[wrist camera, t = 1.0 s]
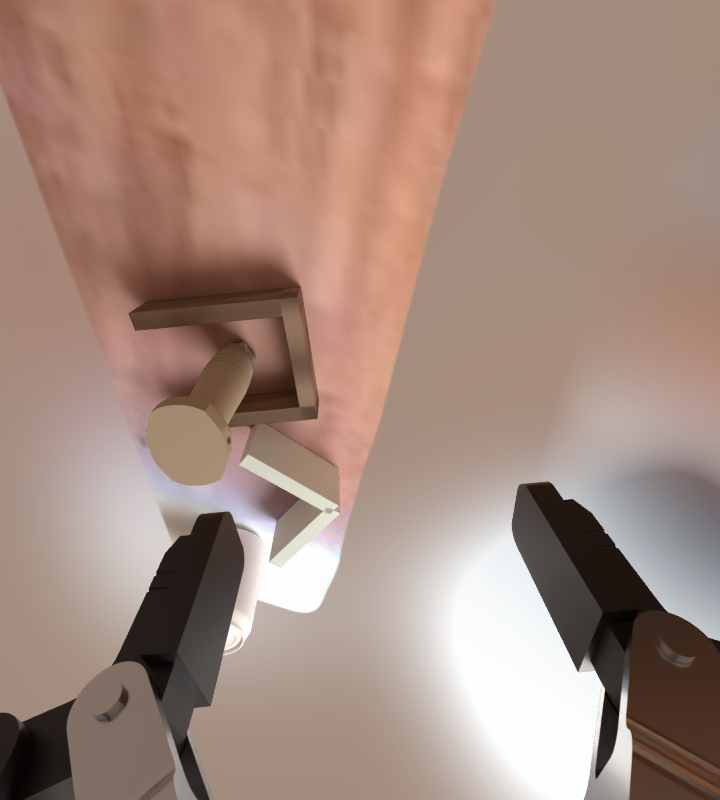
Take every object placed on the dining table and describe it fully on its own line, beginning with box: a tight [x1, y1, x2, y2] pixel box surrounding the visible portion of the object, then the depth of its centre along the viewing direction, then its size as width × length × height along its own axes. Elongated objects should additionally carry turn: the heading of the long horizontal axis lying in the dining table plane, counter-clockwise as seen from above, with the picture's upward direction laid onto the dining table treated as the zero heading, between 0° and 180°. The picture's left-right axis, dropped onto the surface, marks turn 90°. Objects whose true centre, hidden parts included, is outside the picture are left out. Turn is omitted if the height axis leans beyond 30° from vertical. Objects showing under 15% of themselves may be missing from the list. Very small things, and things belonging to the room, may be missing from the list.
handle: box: [146, 342, 256, 485], centre depth 31 cm, size 5×6×15 cm
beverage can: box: [223, 529, 266, 655], centre depth 46 cm, size 8×8×12 cm
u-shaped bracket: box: [129, 287, 319, 427], centre depth 36 cm, size 12×14×4 cm
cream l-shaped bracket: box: [239, 424, 340, 567], centre depth 43 cm, size 17×9×6 cm, turn 5°
